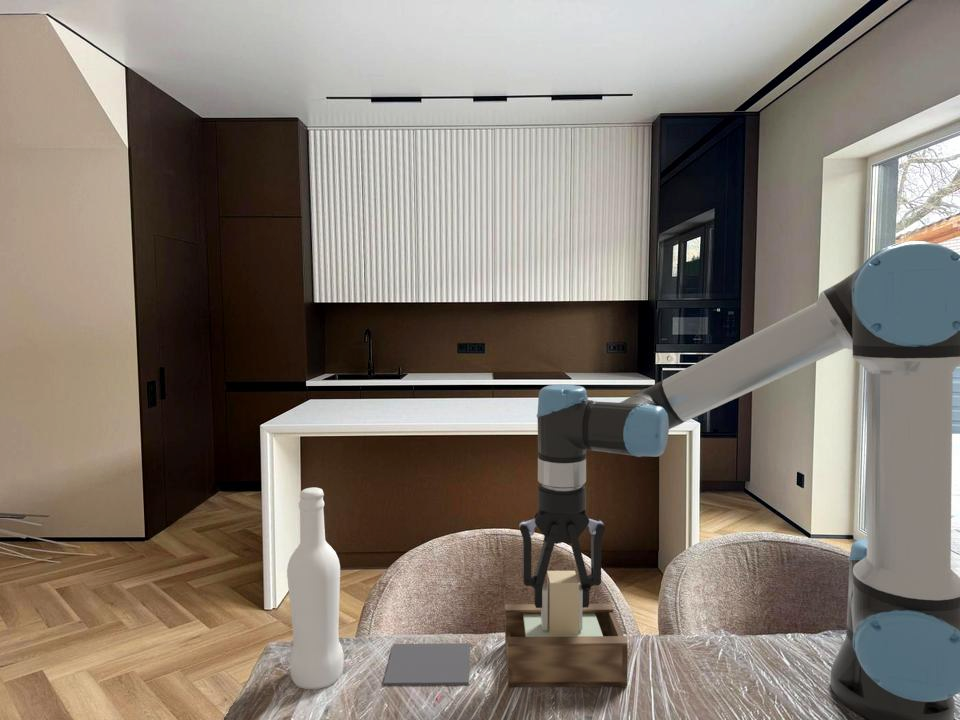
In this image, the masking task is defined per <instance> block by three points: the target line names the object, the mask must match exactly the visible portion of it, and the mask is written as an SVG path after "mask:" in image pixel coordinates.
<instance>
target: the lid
mask: <svg viewBox="0 0 960 720" xmlns="http://www.w3.org/2000/svg"><path fill="white" fill-rule="evenodd" d="M546 575H547V576H546V581H547V582H546V587H547V630H542V624H541V613H523V621H524V629H525V637H570V636H603V635H602V632H601V629H600V626H599V623H598V620H597V618H596V615H595V612H582V630H579V583H580V580H579V579H578V578H579V577H578V576H577V573H576V570H547V572H546Z"/></svg>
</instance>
